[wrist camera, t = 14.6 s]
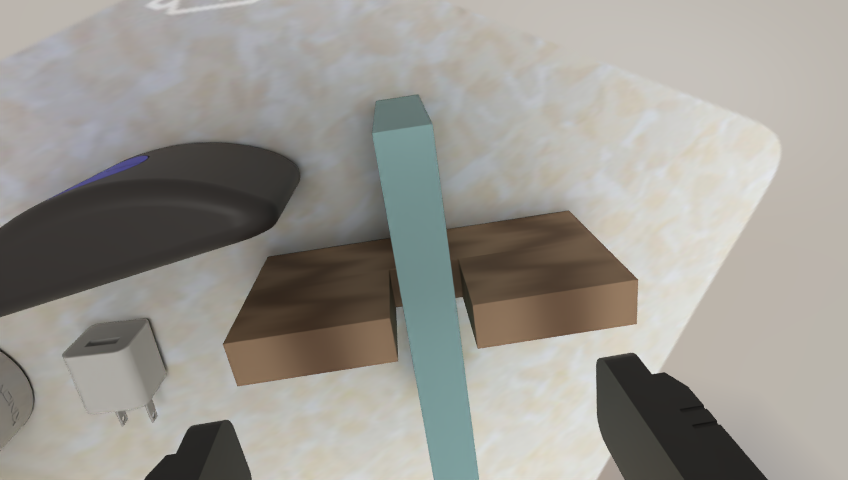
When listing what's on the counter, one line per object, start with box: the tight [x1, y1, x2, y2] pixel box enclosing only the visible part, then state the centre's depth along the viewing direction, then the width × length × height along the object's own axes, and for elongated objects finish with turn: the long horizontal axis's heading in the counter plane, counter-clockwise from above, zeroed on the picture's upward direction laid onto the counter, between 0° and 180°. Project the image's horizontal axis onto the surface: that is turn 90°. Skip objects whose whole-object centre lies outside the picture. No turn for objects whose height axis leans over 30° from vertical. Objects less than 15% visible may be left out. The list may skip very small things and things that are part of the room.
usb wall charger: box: [62, 318, 166, 426], centre depth 34 cm, size 4×7×4 cm, turn 6°
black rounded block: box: [0, 143, 300, 317], centre depth 27 cm, size 16×5×9 cm, turn 107°
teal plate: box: [372, 95, 479, 480], centre depth 29 cm, size 2×20×10 cm, turn 8°
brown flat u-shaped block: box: [223, 211, 638, 386], centre depth 29 cm, size 20×2×10 cm, turn 98°
